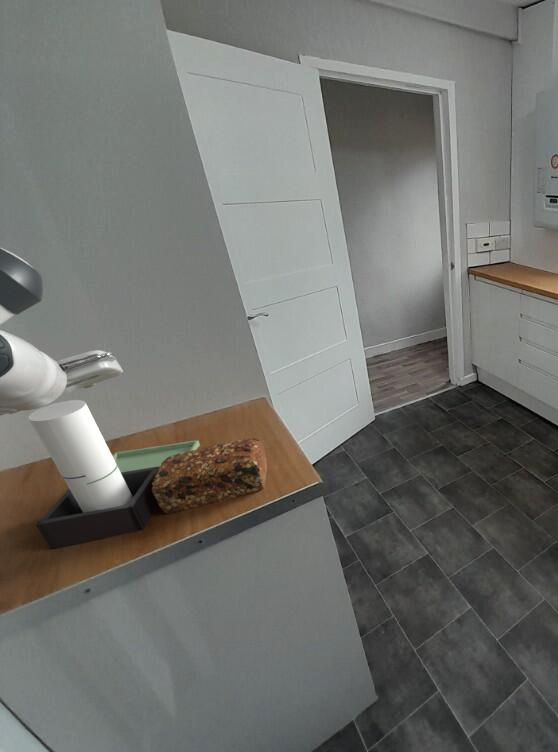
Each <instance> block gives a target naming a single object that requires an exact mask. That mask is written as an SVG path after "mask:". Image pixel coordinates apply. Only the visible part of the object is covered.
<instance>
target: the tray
mask: <svg viewBox="0 0 558 752" xmlns="http://www.w3.org/2000/svg"><path fill="white" fill-rule="evenodd" d="M200 446H201V444H200V441H199V440H198V439H197V440H196V439H195V440H190V441H184V442H183V441H182V442H177V443H170V444H163V445H156V446H149V447H144V448H137V449H130V450H122V451H117V452H114V453H113V454H112V456H113V458H114V460H115V462H116V464H117V466H118V468H119V470H120V472H127V471H133V470H140V469H146V468H152V467H158V466H161V463H162V462H163V461H164V460H165V459H166V458H168V457H170V456H173V455H176V454H179V453H184V452H189V451H192V450H197V449H199V448H200Z"/></svg>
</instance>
